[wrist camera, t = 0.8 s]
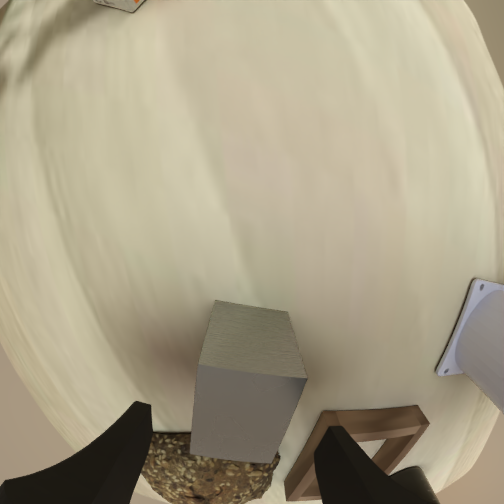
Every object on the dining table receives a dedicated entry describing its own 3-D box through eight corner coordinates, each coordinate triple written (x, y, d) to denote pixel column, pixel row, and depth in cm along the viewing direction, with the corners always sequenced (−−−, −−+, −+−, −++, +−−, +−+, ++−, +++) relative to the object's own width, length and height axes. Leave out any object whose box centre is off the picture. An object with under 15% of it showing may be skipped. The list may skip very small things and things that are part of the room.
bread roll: (127, 415, 18) (107, 460, 13) (284, 430, 18) (292, 480, 13) (156, 486, 20) (147, 519, 16) (270, 495, 21) (272, 531, 16)
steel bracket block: (215, 299, 15) (198, 363, 9) (287, 311, 15) (307, 378, 9) (204, 382, 16) (189, 453, 10) (265, 391, 17) (271, 463, 11)
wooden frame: (417, 405, 17) (430, 423, 15) (365, 475, 20) (371, 492, 17) (322, 410, 17) (330, 435, 15) (283, 481, 19) (286, 501, 17)
